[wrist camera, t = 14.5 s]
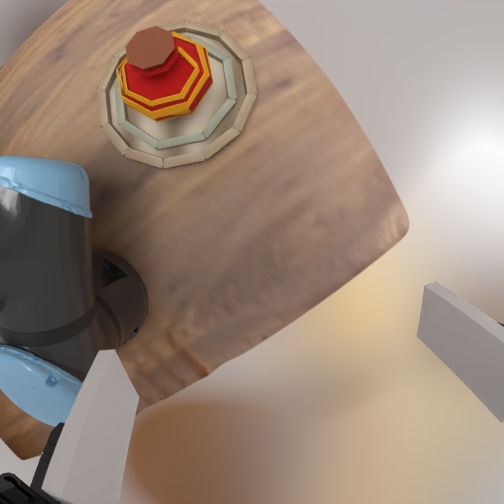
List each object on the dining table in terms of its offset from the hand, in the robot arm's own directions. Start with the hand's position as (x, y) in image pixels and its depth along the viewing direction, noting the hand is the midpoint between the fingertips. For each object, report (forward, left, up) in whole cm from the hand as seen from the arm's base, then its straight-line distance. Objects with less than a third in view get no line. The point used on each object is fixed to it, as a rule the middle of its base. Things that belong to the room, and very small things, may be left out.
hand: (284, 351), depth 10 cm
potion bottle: (-5, +18, -28) cm, 33 cm away
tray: (-5, +18, -29) cm, 34 cm away
